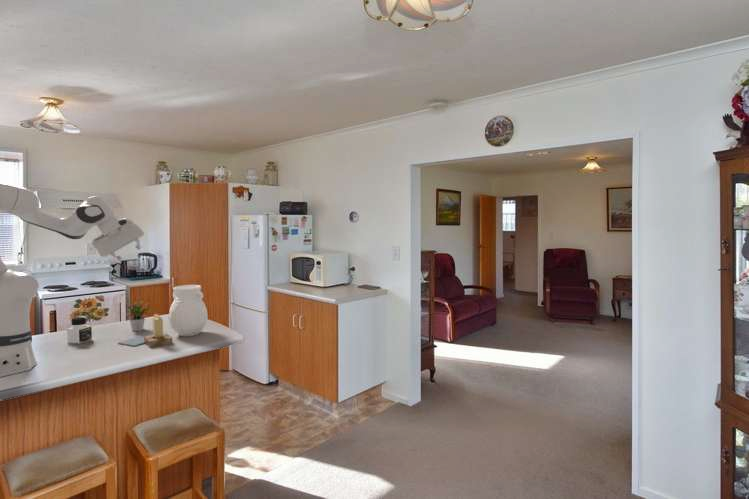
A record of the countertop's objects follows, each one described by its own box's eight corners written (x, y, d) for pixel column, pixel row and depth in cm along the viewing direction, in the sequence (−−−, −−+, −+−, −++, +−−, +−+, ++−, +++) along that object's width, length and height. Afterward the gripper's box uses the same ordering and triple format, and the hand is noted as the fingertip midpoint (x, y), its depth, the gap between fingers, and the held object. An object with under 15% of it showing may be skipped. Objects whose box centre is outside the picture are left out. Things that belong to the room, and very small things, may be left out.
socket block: (149, 347, 200) (149, 341, 199) (144, 342, 207) (144, 336, 207) (172, 343, 206) (172, 337, 206) (166, 339, 214) (166, 333, 213)
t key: (156, 345, 202) (155, 317, 201) (152, 341, 208) (151, 314, 207) (164, 344, 205) (163, 316, 204) (160, 340, 211) (159, 313, 210)
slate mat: (134, 346, 201) (134, 345, 201) (118, 343, 205) (118, 342, 205) (154, 340, 211) (154, 339, 211) (138, 337, 215) (138, 336, 215)
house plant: (129, 335, 219) (128, 304, 218) (115, 331, 226) (114, 301, 225) (156, 329, 231) (155, 299, 230) (141, 325, 239) (140, 296, 237)
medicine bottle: (79, 344, 204) (78, 319, 203) (67, 342, 206) (66, 318, 205) (92, 339, 211) (91, 315, 210) (80, 338, 213) (79, 315, 212)
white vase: (160, 337, 217) (159, 288, 215) (186, 328, 234) (185, 283, 232) (191, 340, 211) (190, 290, 209) (215, 331, 229) (214, 284, 227)
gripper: (87, 240, 190) (105, 266, 191) (130, 216, 194) (148, 242, 196) (92, 241, 196) (110, 266, 197) (134, 218, 201) (152, 243, 202)
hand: (129, 254), depth 197 cm, fingers open, 8 cm apart
